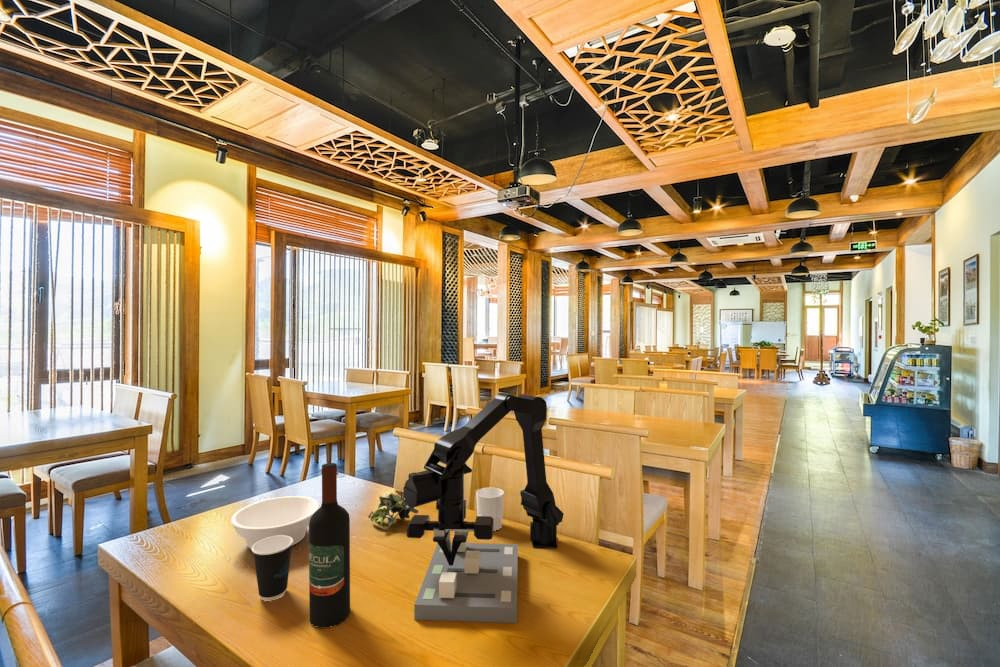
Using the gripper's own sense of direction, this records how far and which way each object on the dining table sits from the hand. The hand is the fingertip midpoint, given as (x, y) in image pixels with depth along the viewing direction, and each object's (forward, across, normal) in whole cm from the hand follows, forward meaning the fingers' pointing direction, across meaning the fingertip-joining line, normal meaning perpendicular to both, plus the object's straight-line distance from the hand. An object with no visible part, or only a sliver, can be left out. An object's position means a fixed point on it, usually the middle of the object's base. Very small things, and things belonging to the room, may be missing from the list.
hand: (451, 564), depth 99 cm
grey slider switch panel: (+4, -5, 0) cm, 6 cm away
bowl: (+4, +49, -17) cm, 52 cm away
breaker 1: (+1, -1, +9) cm, 9 cm away
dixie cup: (+4, +37, +6) cm, 38 cm away
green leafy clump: (+4, +21, -28) cm, 35 cm away
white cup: (+5, -7, -28) cm, 29 cm away
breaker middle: (+1, -5, 0) cm, 5 cm away
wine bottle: (+4, +22, +12) cm, 26 cm away
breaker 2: (+1, -1, -9) cm, 9 cm away
